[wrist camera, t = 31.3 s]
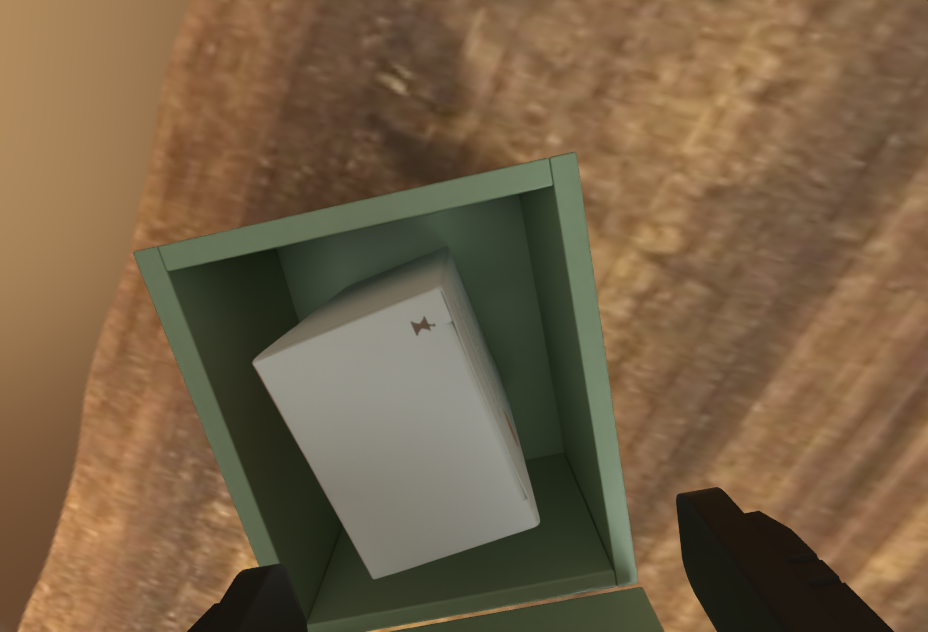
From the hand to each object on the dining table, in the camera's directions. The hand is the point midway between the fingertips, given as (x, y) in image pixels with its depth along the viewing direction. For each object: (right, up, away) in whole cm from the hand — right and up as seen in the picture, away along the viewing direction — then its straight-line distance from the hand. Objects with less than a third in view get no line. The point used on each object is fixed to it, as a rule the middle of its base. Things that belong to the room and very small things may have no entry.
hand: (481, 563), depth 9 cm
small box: (-2, +4, +14) cm, 14 cm away
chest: (-2, +3, +14) cm, 15 cm away
